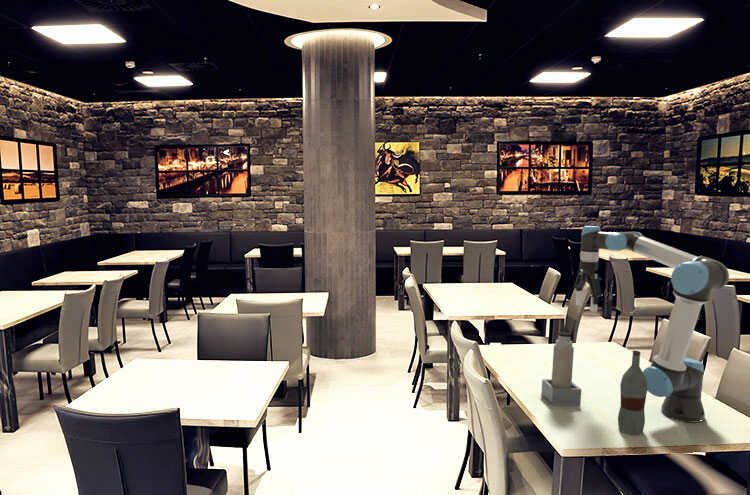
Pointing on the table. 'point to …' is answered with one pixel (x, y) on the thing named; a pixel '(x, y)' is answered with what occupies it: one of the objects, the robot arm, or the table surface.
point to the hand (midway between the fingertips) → (586, 308)
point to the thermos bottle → (562, 361)
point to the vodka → (633, 398)
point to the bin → (561, 394)
